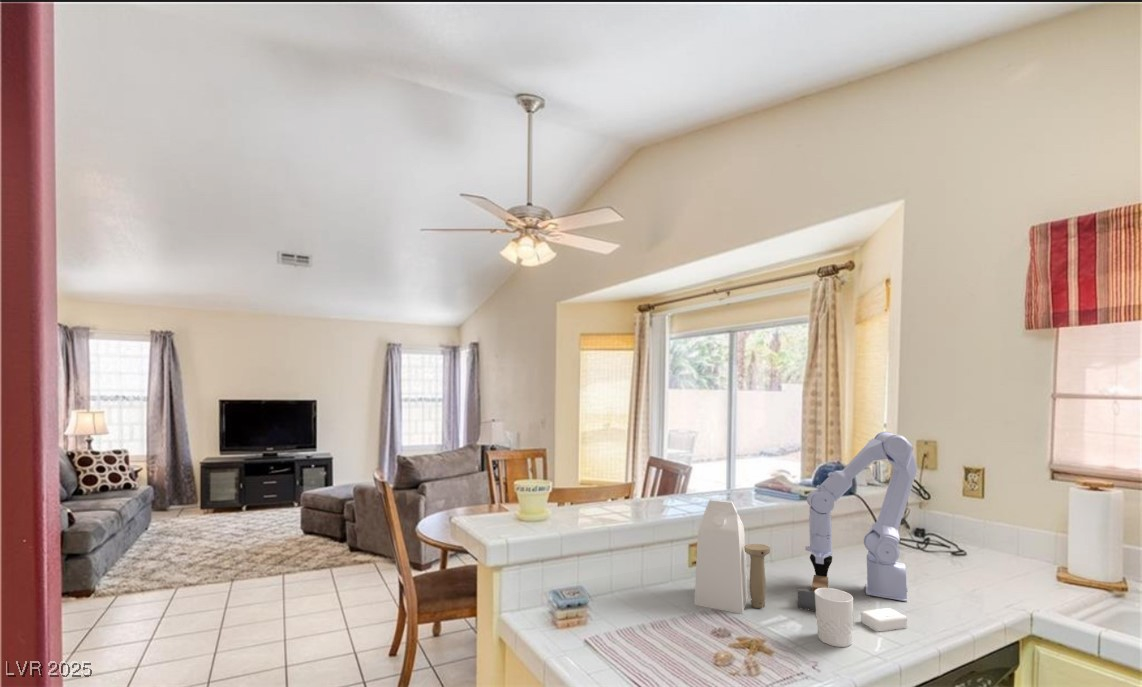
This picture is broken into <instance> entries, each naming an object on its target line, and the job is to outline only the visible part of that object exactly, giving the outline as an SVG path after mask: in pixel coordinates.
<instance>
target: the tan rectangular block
mask: <svg viewBox="0 0 1142 687" xmlns="http://www.w3.org/2000/svg"><path fill="white" fill-rule="evenodd" d="M818 588H829V576H827V577H825V576H819V575H816V574H814V575H813V578H812V582H811V591H814V592H815V590H816V589H818Z"/></svg>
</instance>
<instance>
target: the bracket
mask: <svg viewBox="0 0 1142 687" xmlns="http://www.w3.org/2000/svg"><path fill="white" fill-rule="evenodd" d="M797 608H798V609H800V608H802V610H805V609H807V611H811V610H814V611H813V612H816V607H815V592H814V591H812V590H809V588H807V587H804V588H803V589H802V588H797ZM808 609H809V610H808Z"/></svg>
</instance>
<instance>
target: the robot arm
mask: <svg viewBox="0 0 1142 687" xmlns="http://www.w3.org/2000/svg"><path fill="white" fill-rule="evenodd" d="M914 455H915V454H914V447H913V445H912V444H911V442H909V440H908V439H907V438H905V437H904V436H903V435H902V434H901V435H900V434H894V433H891V432H888V431H880V432H878V433H877V434H876V435H875V437H874V438H871V439H870V440H868V442H867V443H866V444H865V445H864V446H863V448H862V449H861V450H860V451H859V452H858V453H857V454H856V455H855V456H854V457H853V458H852V459H851V460H850V462H849V463H847V465H846V466H845V467H844V468H843V469H842V470H834V471H833V472H831V471H830V472H829V473H828V474H827V478H825V480H824V481H823V482H822V483H820V485H819V484H817V485H816V486H815V487H816V488H815V489H812V490H810V492H809V493H808V494H807V497H806V502H807V504H808V505H809V516H808V517H809V520H808V523H809V524H808V525H809V545H808V546H807V545H806V546H805V551H807V552H810V556H809V560H810V562H811V564H812V566H813V569H814V573H815V574H814V575H819V576H825V577H828V572H829V568H830V566H831V564H832V563H833V556H832V555H833V554H834V551H833V535H832V533H833V532H832V512H831V511H833V509H834V508H835V502H837V501H838V500H839V499H840V498H841V497H842V496H844V494H845V493H846V492H847V491H848V490H850V489H851V488H852V487H853V479H854V478H855V477H857V476H858V475H859V474H860V473H861V472H862V471H863V470H865V469H866V468H867V467H868V466H870V464H872V463H873V462H875V461H880V460H881V461H882V460H887V461H888V462H889V463H890V465H891V466H892V468H893V470H892V474H891V475H890V476H891V477H890V479H889V483H888V486H887V489H886V492H885V495H884V498H883V502H882V505H881V508H880V511H879V514H878V516H877V520H876V522H875V523H873V524H872V525H871V528H870V530H869V531H868V532H867V533H866V535H865V536H864V538H863V544H864V547H865V548H866V550H867V551H868V552H867V554H866V581H867V583H865V594H866V595H868V596H873V597H876V598H877V597H879V598H885V599H890V600H896V601H901V602H908V595H907V594H908V585H907V570H906V569H907V568H906V564H905V563H903V562H900V561H897V560H899V558H900V548H899V547H900V546H899V544H900V541H901V539H900V534H899V528H900V525H901V522H902V519H903V517H904V516H903V515H904V513H905V509H906V507H907V503H908V500H909V497H910V494H911V491H912V488H913V484H914V481H915V478H916V476H917V472H918V466H917V463H916V459H915V456H914Z"/></svg>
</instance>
